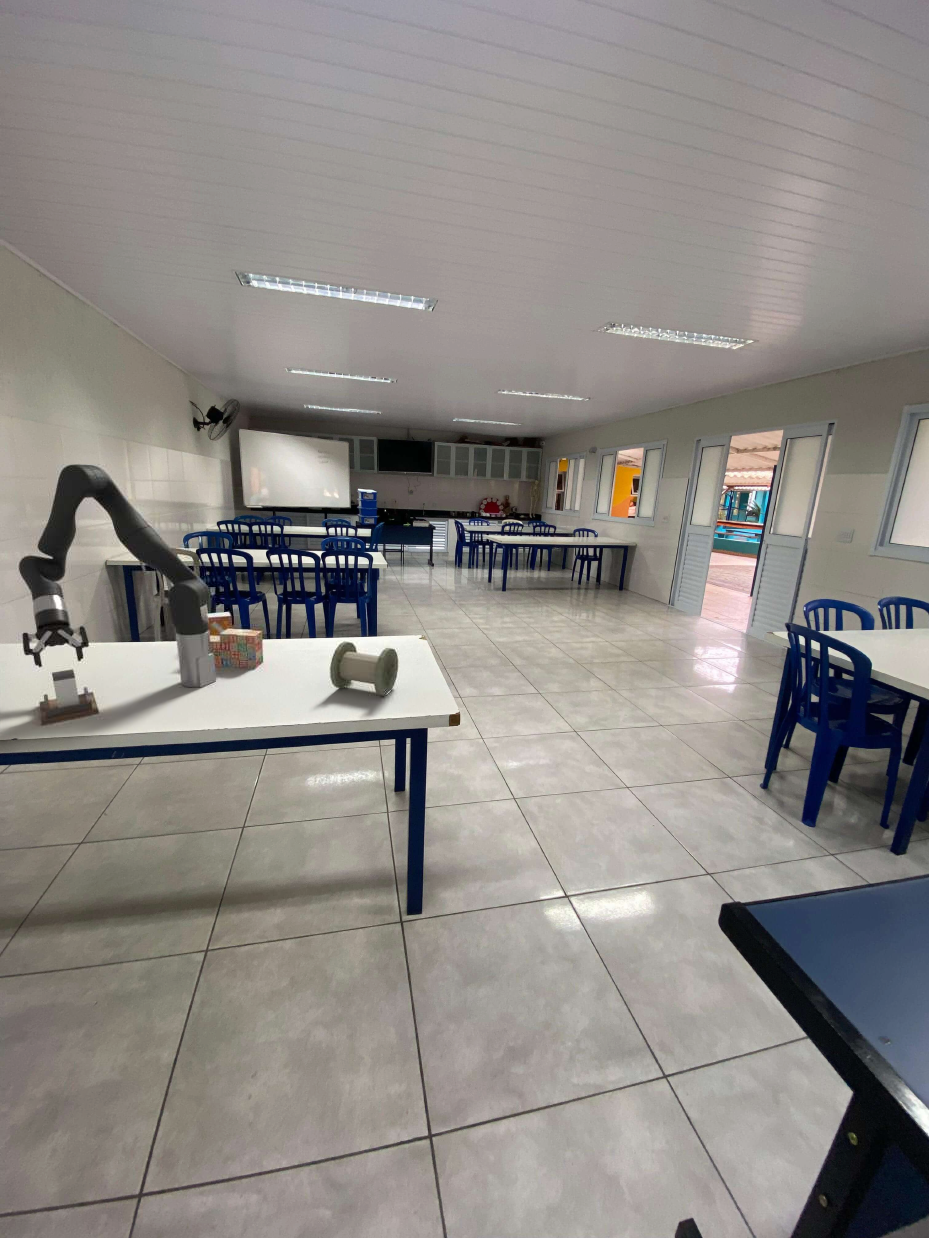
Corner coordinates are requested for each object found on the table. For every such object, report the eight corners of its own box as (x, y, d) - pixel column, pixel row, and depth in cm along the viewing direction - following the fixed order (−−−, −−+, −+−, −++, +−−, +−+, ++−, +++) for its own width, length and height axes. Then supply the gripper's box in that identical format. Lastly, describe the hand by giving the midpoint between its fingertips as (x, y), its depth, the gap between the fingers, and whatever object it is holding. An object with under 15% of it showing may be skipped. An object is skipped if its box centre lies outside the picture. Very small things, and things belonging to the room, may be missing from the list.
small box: (210, 650, 185) (207, 617, 181) (208, 645, 190) (205, 613, 186) (233, 647, 189) (231, 615, 186) (231, 642, 194) (228, 611, 191)
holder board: (98, 713, 133) (97, 702, 132) (41, 725, 125) (39, 714, 124) (93, 695, 143) (91, 685, 142) (40, 705, 135) (37, 695, 134)
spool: (397, 685, 162) (398, 642, 159) (378, 703, 148) (378, 657, 145) (353, 677, 167) (353, 636, 163) (330, 694, 153) (329, 649, 149)
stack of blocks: (196, 665, 170) (192, 631, 167) (205, 659, 176) (202, 626, 173) (256, 668, 170) (254, 635, 167) (264, 662, 176) (262, 630, 173)
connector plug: (78, 702, 135) (72, 669, 133) (80, 708, 132) (74, 674, 130) (57, 706, 133) (51, 672, 130) (59, 712, 129) (52, 677, 127)
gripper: (16, 610, 134) (24, 661, 128) (81, 604, 143) (91, 652, 138) (20, 624, 139) (28, 674, 134) (82, 617, 148) (92, 663, 143)
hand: (60, 662), depth 136 cm, fingers open, 8 cm apart
